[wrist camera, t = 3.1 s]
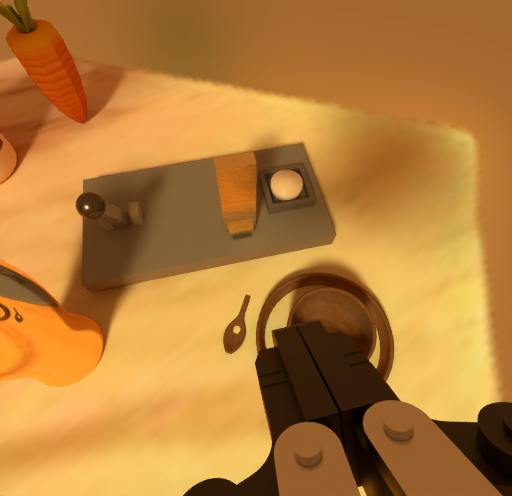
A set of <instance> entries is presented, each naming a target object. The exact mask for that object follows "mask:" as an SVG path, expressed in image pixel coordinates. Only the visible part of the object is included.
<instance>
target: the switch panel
mask: <svg viewBox="0 0 512 496" xmlns="http://www.w3.org/2000/svg"><path fill="white" fill-rule="evenodd" d="M253 153H254V156H255V160H256V163H257V175H256V226H254V232H251V233H246V234H241V235H236V236H231V237H230V236H229V231H228V232H225V227H224V223H223V217H222V210H221V204H220V198H219V192H218V185H217V179H216V173H215V166H214V160H213V158H211V159H205V160H199V161H193V162H187V163H181V164H175V165H169V166H163V167H157V168H151V169H145V170H139V171H133V172H127V173H121V174H115V175H109V176H103V177H97V178H91V179H85V180H83V193H86V192H94V193H97V194H99V195H100V196H101V197H102V198H103V199H104V200H106V201H108V202H109V203H111V204H113V205H115V206H117V207H119V208H120V209H122V210H124V211H126V212H128V214H129V219H130V224H131V225H127V226H121V227H117V226H114V225H111V224H108V223H105V222H102V221H100V220H97V219H87V218H84V217H83V261H82V285H83V286H85V287H86V288H87V289H89V290H90V291H91V292H94V291H99V290H104V289H109V288H114V287H119V286H124V285H129V284H134V283H139V282H144V281H149V280H154V279H159V278H164V277H169V276H174V275H179V274H184V273H189V272H194V271H198V270H203V269H208V268H213V267H218V266H223V265H228V264H233V263H238V262H243V261H248V260H253V259H258V258H263V257H268V256H273V255H278V254H283V253H288V252H293V251H297V250H302V249H307V248H312V247H317V246H322V245H327V244H332V242H333V240H334V238H335V236H336V232H335V229H334V227H333V224H332V221H331V219H330V216H329V213H328V211H327V208H326V205H325V203H324V200H323V198H322V195H321V192H320V190H319V187H318V184H317V182H316V179H315V177H314V174H313V171H312V169H311V166H310V163H309V161H308V158H307V155H306V153H305V150H304V148H303V145H302V143H301V144H295V145H289V146H283V147H277V148H271V149H265V150H259V151H253ZM280 170H292V171H295V172H297V173H298V174H299V175H300V176H301V178H302V180H303V186H302V191H301V195H300V196H299V198H298V199H296V200H291V201H286V202H281V201H279V200H277V199H275V198H274V197H273V195H272V194H271V189H270V188H271V179H272V177H273V175H274V174H275V173H276V172H278V171H280Z"/></svg>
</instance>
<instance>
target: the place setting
mask: <svg viewBox="0 0 512 496" xmlns="http://www.w3.org/2000/svg"><path fill="white" fill-rule="evenodd" d="M309 285H325V286H330V287H322V288H317V289H313V290H311V291H309V292H307V293H306V294H304V295H303V296H302V297H300V298H299V299H298V301H297V302H296V303H295V305H294V306H293V308H292V310H291V312H290V315H289V318H288V322H287V327H289V326H293V325H295V326H296V325H297V324H301V323H305V322H310V321H314V320H320V322H321V323H322V325H323V326H324V328H325V329H326V331H327V332H328V334H331V333H335V332H339V331H340V332H341V333H343V334H345V335H347V336H348V337H350V338H352V339H353V340H354V341H355V342H356V344H357V345H358V346H359V348H360V349H361V350H362V353H364V354H365V355H366V357H367V358H368V359H370V358H371V356H372V354H373V352H374V349H375V345H376V337H377V335H376V328H377V331H378V335H379V340H380V358H379V363H378V367H377V369H376V370H377V371H378V372H379V374H380V375H381V376H382V378H383V379H384V380H385V381H387V379H388V377H389V374H390V371H391V368H392V364H393V359H394V340H393V335H392V330H391V327H390V324H389V321H388V319H387V317H386V315H385V313H384V312H383V310H382V308H381V307H380V305H379V304H378V303H377V302H376V300H375V299H374V298H373V297H372V296H371V295H370V294H369V293H368V292H367V291H366V290H364V289H363V288H362V287H360V286H359V285H357V284H356V283H354V282H352V281H350V280H348V279H346V278H343V277H340V276H337V275H333V274H326V273H311V274H304V275H301V276H297V277H295V278H293V279H290V280H288V281H287V282H285V283H283V284H282V285H281V286H279V287H278V288H277V289H276V290H275V291H274V292H273V293H272V294H271V295H270V297H269V298H268V299H267V301H266V302H265V304H264V306H263V308H262V310H261V313H260V315H259V319H258V323H257V330H256V345H257V351H258V353H259V351H260V350H265V349H266V348H265V328H266V324H267V321H268V318H269V315H270V313H271V311H272V310H273V308H274V307H275V305H276V304H277V303H278V302H279V301H280V300H281V299H282V298H283V297H284V296H285V295H287V294H288V293H290V292H291V291H293V290H295V289H298V288H301V287H304V286H309ZM249 300H250V296H249V295H246V296H245V298H244V301H243V305H242V308H241V310H240V313H239V315H238V317H237V318H236V319H235V320H234V321H233V322H231V323H230V324H229V326H228V327H227V329H226V330H225V333H224V338H223V343H224V348H225V351H226V352H227V353H229V354H232V353H234V352H235V351H236V350H237V349H238V348H239V347H240V346H241V345H242V343H243V341H244V339H245V334H246V328H245V323H244V315H245V312H246V309H247V306H248V303H249ZM375 325H376V327H375ZM234 326H239V327H240V328H241V330H240V332H239V333H238V334H236V333H234V332H233V328H234Z"/></svg>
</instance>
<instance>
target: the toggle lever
mask: <svg viewBox="0 0 512 496" xmlns="http://www.w3.org/2000/svg"><path fill="white" fill-rule="evenodd" d="M76 209H77V211H78V213H79V214H80V215H81V216H83V217H84V218H87V219H97V220H100V221H102V222H105V223H108V224H111V225H114V226H117V227H121V226H127V225H131V224H130V219H129V214H128V212H126V211H124V210H122V209H120V208H119V207H117V206H115V205H113V204H111V203H109V202H108V201H106V200H104V199H103V198H102V197H101V196H100V195H99V194H97V193H94V192H86V193H83V194H81V195H80V196H79V197H78V199H77V201H76Z"/></svg>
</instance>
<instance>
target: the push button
mask: <svg viewBox="0 0 512 496" xmlns="http://www.w3.org/2000/svg"><path fill="white" fill-rule="evenodd" d="M302 186H303V180H302V178H301V176H300V175H299V174H298V173H297V172H295V171H292V170H280V171H278V172H276V173H275V174H274V175H273V177H272V179H271V188H270V189H271V194H272V195H273V197H274V198H275V199H277V200H279V201H281V202H286V201H291V200H296V199H298V198H299V196H300V195H301V191H302Z"/></svg>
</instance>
